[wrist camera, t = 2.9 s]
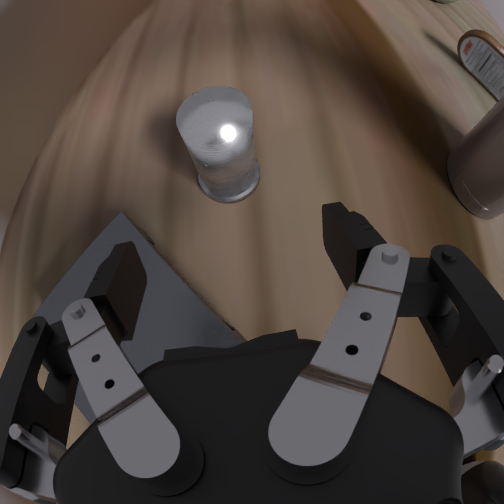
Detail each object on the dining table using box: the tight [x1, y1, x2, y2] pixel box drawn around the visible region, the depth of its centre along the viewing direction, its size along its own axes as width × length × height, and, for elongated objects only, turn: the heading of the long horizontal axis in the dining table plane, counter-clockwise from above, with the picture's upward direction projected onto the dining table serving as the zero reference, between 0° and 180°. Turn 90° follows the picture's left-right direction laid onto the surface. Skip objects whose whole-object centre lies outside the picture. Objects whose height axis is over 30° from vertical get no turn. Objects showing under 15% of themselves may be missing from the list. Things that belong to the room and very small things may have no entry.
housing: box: [176, 86, 260, 203], centre depth 22 cm, size 6×6×10 cm
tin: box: [457, 30, 504, 101], centre depth 25 cm, size 15×3×8 cm, turn 40°
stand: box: [31, 211, 247, 424], centre depth 22 cm, size 14×14×5 cm
